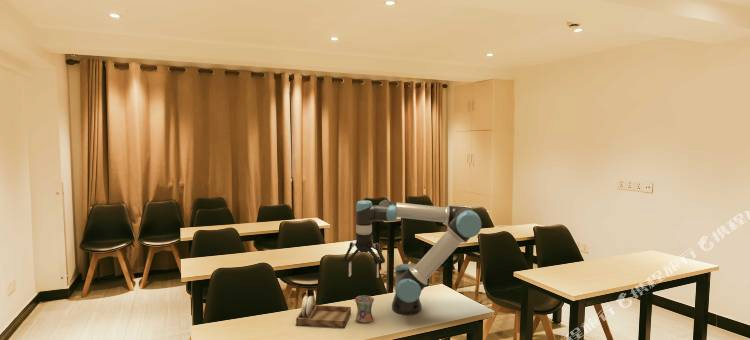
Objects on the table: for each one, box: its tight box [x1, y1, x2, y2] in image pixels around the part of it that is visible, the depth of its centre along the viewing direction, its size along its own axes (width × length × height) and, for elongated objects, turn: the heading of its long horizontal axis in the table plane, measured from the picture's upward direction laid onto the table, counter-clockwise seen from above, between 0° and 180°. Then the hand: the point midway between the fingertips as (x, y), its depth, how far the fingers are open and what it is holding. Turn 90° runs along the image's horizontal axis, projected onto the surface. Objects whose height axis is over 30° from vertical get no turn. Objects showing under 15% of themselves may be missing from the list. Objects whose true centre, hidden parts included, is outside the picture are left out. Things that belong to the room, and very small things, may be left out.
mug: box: [354, 295, 375, 324], centre depth 215 cm, size 12×9×11 cm
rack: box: [295, 304, 352, 329], centre depth 215 cm, size 23×17×4 cm
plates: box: [300, 295, 314, 318], centre depth 215 cm, size 3×10×10 cm, turn 173°
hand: (363, 276), depth 214 cm, fingers open, 13 cm apart
